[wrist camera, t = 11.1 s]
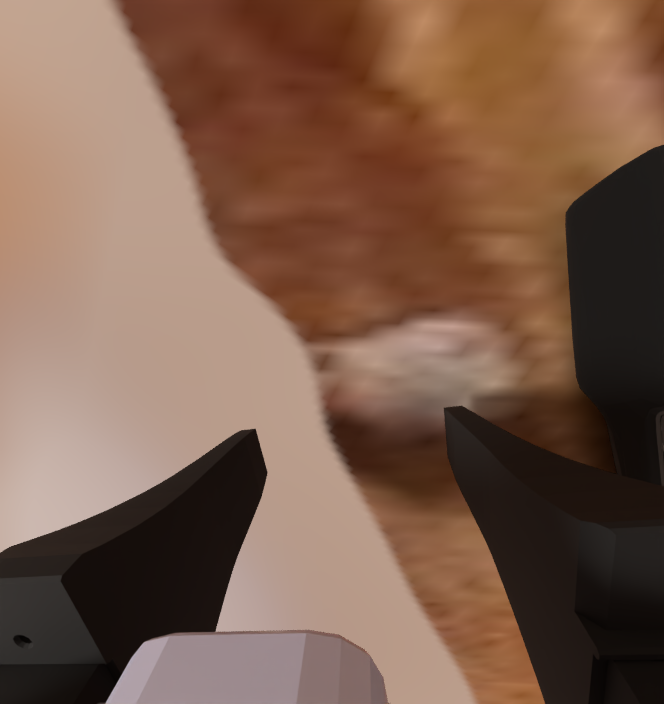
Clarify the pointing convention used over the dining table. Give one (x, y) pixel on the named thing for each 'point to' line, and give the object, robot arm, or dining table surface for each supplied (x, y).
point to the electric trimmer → (622, 309)
